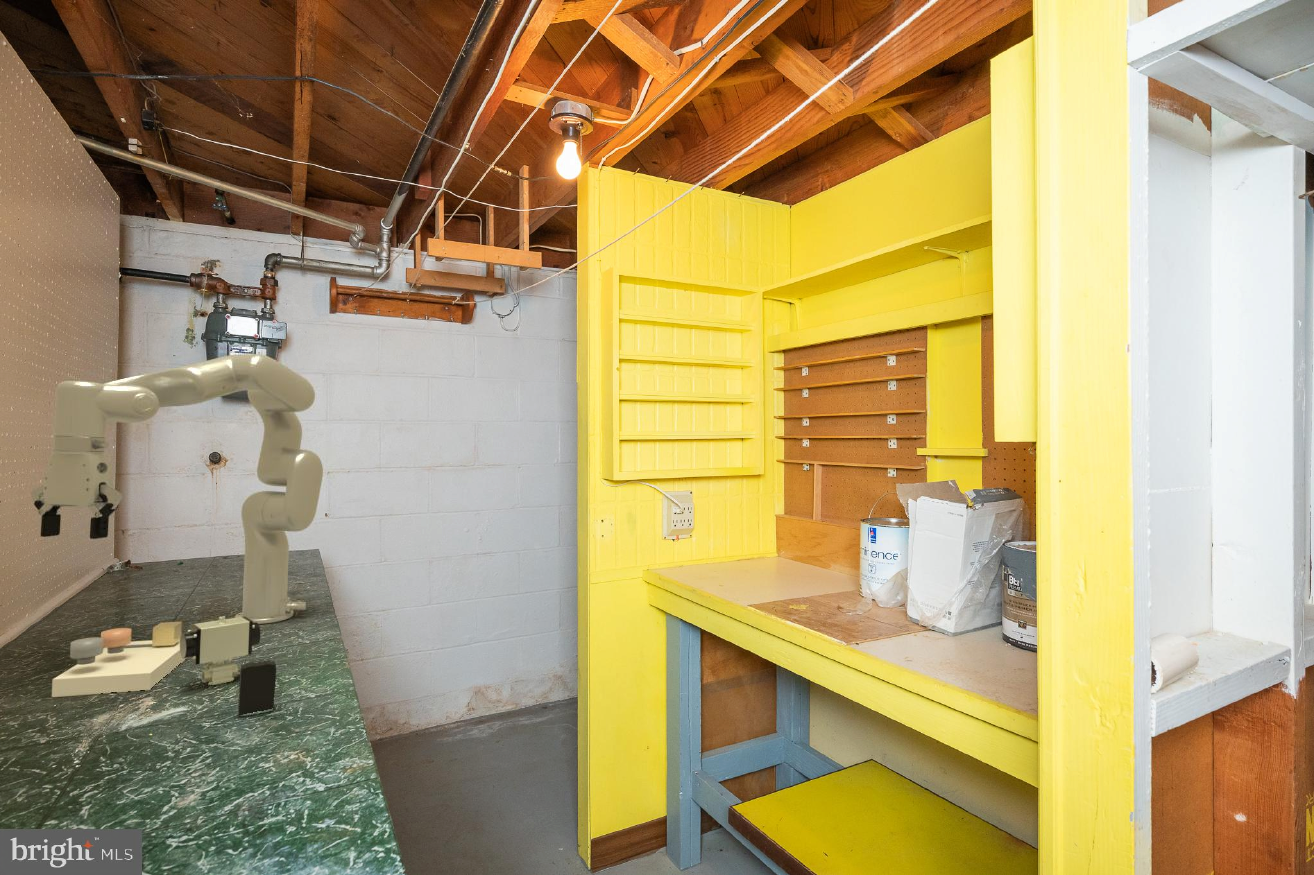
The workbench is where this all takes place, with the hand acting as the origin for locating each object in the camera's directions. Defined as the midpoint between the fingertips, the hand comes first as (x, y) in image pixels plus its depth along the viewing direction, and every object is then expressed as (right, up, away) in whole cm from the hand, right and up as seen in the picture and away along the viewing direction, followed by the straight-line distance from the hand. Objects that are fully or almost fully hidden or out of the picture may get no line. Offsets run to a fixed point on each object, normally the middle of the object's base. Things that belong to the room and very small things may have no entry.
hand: (74, 537), depth 126 cm
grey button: (+9, -21, -8) cm, 24 cm away
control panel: (+11, -26, 0) cm, 28 cm away
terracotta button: (+9, -21, -2) cm, 23 cm away
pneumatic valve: (+30, -26, -4) cm, 40 cm away
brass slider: (+12, -22, +8) cm, 26 cm away
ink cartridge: (+44, -26, -17) cm, 54 cm away
